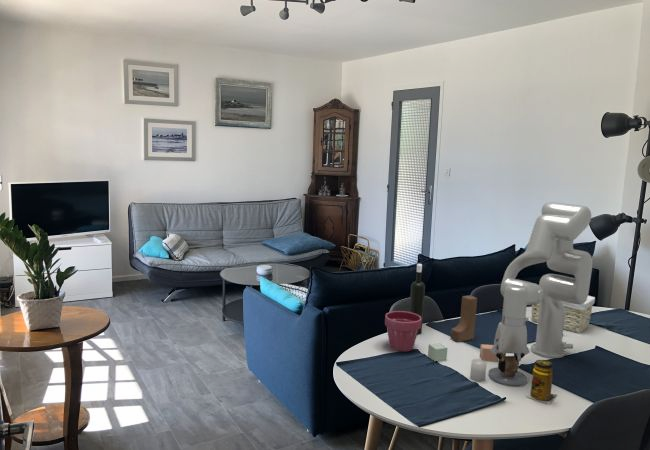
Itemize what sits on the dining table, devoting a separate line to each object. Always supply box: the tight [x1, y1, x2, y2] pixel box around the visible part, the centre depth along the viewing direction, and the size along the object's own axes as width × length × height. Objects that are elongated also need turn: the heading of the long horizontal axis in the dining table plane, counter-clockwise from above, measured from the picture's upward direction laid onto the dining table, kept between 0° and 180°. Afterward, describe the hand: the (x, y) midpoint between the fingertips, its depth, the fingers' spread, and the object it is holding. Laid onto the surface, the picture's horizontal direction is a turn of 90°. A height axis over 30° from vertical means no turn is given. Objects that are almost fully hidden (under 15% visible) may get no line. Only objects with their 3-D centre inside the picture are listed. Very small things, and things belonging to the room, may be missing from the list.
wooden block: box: [450, 295, 478, 343], centre depth 219 cm, size 9×4×18 cm, turn 118°
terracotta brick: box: [479, 343, 499, 363], centre depth 200 cm, size 6×4×5 cm, turn 87°
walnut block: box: [501, 355, 520, 377], centre depth 184 cm, size 4×4×6 cm
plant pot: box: [384, 310, 422, 352], centre depth 208 cm, size 14×14×13 cm
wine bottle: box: [408, 263, 426, 335], centre depth 223 cm, size 6×6×30 cm
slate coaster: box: [487, 366, 528, 387], centre depth 185 cm, size 13×13×1 cm
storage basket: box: [531, 295, 596, 334], centre depth 242 cm, size 24×16×15 cm
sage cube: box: [427, 342, 448, 362], centre depth 199 cm, size 5×5×5 cm
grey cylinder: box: [469, 358, 487, 383], centre depth 183 cm, size 5×5×6 cm
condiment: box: [525, 359, 558, 405], centre depth 172 cm, size 7×8×12 cm
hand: (507, 370), depth 184 cm, fingers closed on walnut block, 4 cm apart
